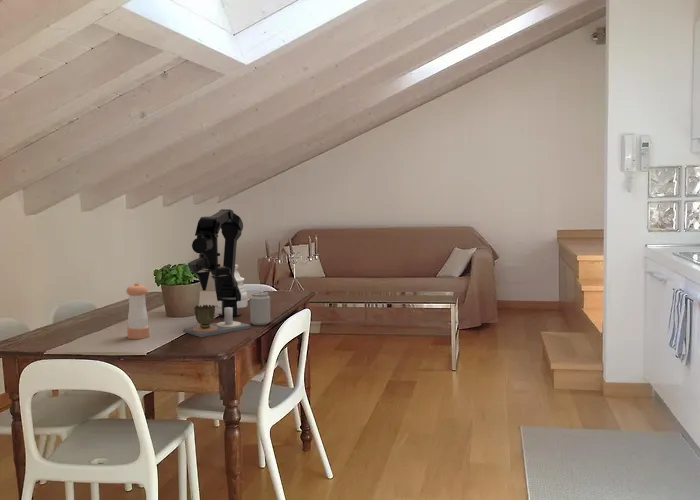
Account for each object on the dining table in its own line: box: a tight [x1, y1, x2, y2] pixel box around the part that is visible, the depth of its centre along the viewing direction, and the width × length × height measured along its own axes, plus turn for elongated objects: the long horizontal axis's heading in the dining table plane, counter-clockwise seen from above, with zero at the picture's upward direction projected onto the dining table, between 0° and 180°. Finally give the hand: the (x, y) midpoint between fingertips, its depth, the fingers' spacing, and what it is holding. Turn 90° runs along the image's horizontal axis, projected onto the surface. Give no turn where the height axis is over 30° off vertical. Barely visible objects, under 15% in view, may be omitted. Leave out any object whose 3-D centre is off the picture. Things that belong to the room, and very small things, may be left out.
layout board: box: [183, 307, 251, 338], centre depth 258 cm, size 12×21×8 cm, turn 133°
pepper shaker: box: [126, 282, 150, 340], centre depth 246 cm, size 7×7×19 cm
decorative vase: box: [194, 304, 216, 329], centre depth 254 cm, size 8×7×8 cm
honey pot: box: [217, 264, 249, 309], centre depth 304 cm, size 13×13×18 cm
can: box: [249, 291, 271, 326], centre depth 268 cm, size 8×8×12 cm
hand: (210, 292), depth 263 cm, fingers open, 9 cm apart
